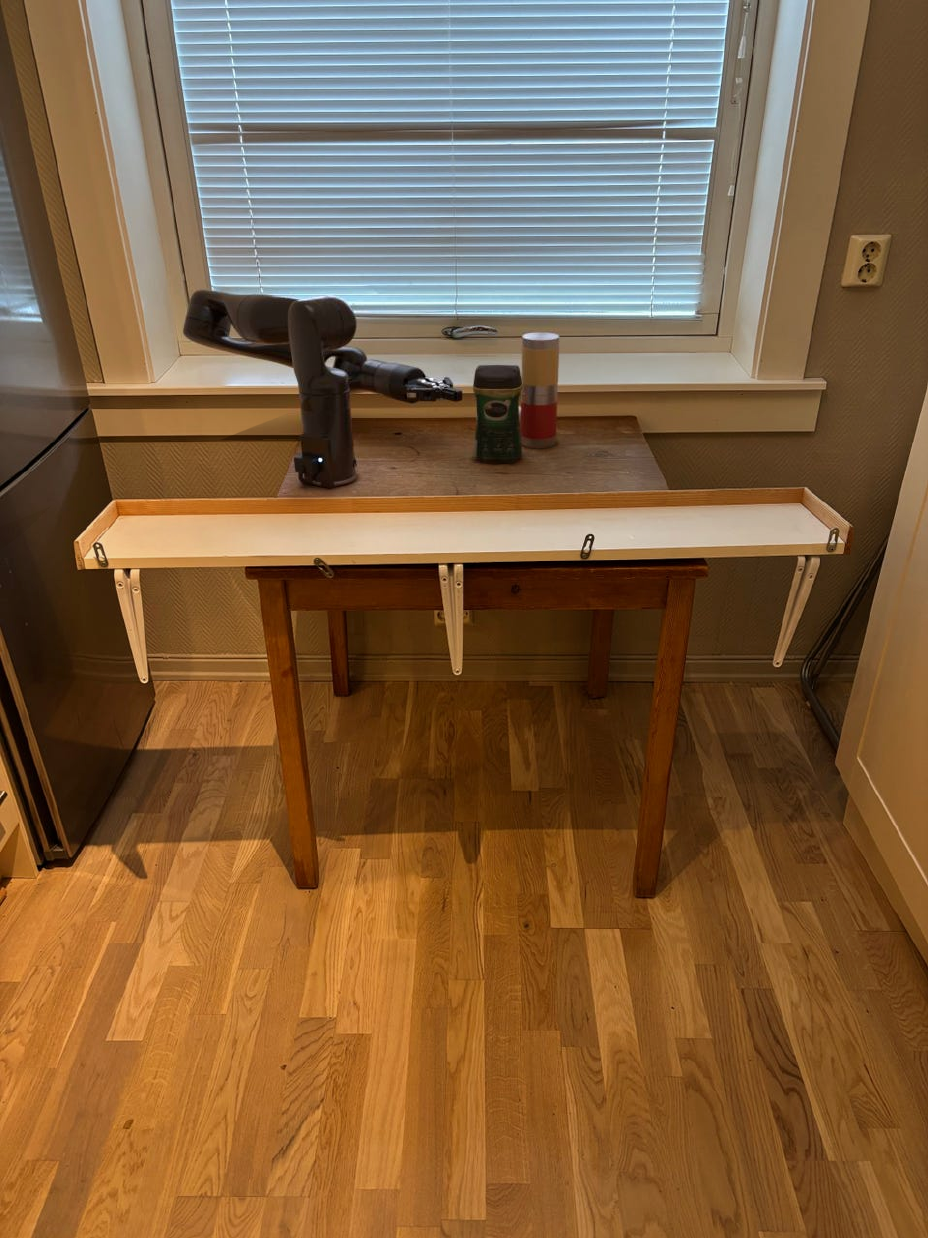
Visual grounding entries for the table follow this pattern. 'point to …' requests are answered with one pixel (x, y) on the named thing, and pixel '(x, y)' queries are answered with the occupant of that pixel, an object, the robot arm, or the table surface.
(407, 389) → the robot arm
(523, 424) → the tin cans
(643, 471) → the table surface
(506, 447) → the coffee jar
